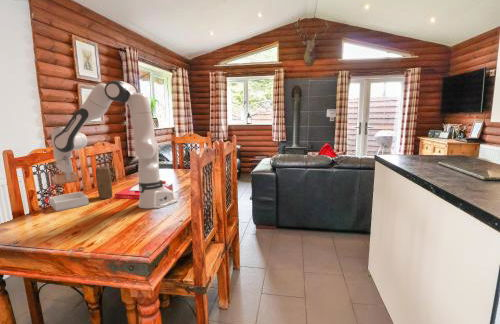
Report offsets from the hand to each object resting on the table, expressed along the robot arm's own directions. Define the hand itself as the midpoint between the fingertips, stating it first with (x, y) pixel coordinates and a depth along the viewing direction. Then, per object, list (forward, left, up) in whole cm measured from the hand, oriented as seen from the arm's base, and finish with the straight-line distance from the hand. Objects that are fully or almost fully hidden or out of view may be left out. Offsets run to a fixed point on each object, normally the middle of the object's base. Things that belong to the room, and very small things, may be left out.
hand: (66, 178), depth 157 cm
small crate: (0, 0, -2) cm, 2 cm away
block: (-20, -1, -16) cm, 26 cm away
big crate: (0, 0, -16) cm, 16 cm away
